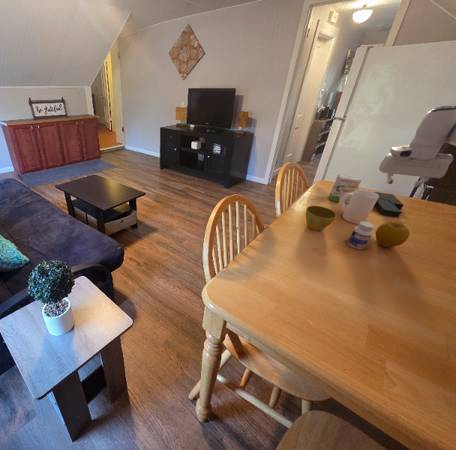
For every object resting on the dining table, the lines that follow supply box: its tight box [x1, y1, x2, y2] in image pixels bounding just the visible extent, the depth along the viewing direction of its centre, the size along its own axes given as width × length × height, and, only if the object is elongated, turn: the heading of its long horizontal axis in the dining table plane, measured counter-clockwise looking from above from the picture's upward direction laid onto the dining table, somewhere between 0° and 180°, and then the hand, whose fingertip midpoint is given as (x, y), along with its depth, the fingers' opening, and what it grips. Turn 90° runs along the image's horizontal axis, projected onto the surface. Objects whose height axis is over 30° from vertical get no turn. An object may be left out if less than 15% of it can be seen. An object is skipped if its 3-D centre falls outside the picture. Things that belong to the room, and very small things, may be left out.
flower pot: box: [305, 205, 338, 231], centre depth 96 cm, size 10×10×7 cm
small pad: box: [374, 199, 402, 218], centre depth 110 cm, size 6×12×2 cm, turn 159°
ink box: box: [328, 173, 362, 204], centre depth 116 cm, size 8×5×12 cm, turn 66°
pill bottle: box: [347, 221, 375, 250], centre depth 86 cm, size 5×5×9 cm
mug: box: [338, 188, 379, 225], centre depth 102 cm, size 8×12×12 cm
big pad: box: [373, 191, 404, 210], centre depth 118 cm, size 14×12×2 cm
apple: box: [375, 221, 411, 248], centre depth 86 cm, size 8×8×9 cm
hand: (402, 184), depth 103 cm, fingers open, 8 cm apart
